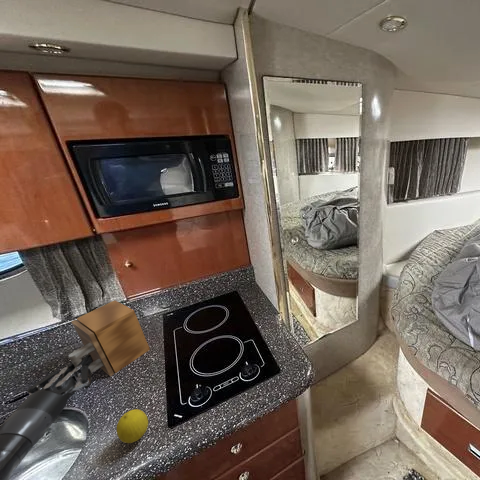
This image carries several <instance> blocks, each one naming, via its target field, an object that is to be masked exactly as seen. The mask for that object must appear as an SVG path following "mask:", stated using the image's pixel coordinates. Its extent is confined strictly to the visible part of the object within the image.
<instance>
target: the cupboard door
mask: <svg viewBox="0 0 480 480" xmlns="http://www.w3.org/2000/svg"><path fill="white" fill-rule="evenodd" d="M71 324H72V326H73V329H74V330H75V332H76V334H77V335H78V338H79V340H80V341H81V343H82V344H83V346H81V347H79V348H78V349H76V350H74V351H71V353H69V354H68V359H69V360H70V362H72V363H73V365H74V367H75V368H76V367H77V366H78V364H79V363H80V362H81V361H82V359H83V358H84V357H85V356H86V355H91V357H92V359H93V361H92V363H91V364H90V365H89V366H88V367H89V369H90V371H91V374H93V373H95V372H96V371H97V370H99V369H101V370H102V371H103V372H104V373H106V374H107V375H108V376H109V377H112V376H114V375H115V373H114V372H113V371H112V369H111V367H110V365H109V363H108V361H107V359H106V357H105V355H104V353H103V351H102V349H101V347H100V345H99V343H98V341H97V339H96V337H95V335H94V333H93V332H91V331H90V330H89V329H87V328H86V327H85V326H83V325H82V324H81V323H79V322H78V321H77V319H73V320H71ZM81 358H82V359H81ZM78 373H79V372H78ZM78 373H77V374H78Z"/></svg>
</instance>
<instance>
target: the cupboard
mask: <svg viewBox="0 0 480 480" xmlns="http://www.w3.org/2000/svg"><path fill="white" fill-rule="evenodd" d="M76 321H78V322H79V323H81V324H82V325H83V326H85V327H86V328H87V329H89V330H90V331H91V332H93V333H94V335H95V337H96V339H97V341H98V343H99V345H100V347H101V349H102V351H103V353H104V355H105V357H106V359H107V361H108V363H109V365H110V367H111V369H112V371H113V372H114V374H117V373H118V372H120V371H122V370H123V369H124V368H125V367H127V366H129V365H130V364H131V363H133V362H134V361H136V360H137V359H138V358H140V357H141V356H143V355H144V354H146V353H147V352H149V351H151V349H150V346H149V344H148V342H147V339H146V336H145V334H144V331H143V329H142V327H141V324H140V322H139V319H138V317H137V314H136V312H135V310H134V309H132V308H130V307H128V306H127V305H125V304H123V303H121V302H119V301H118V300H116V299H115V300H111V301H110V302H108V303H106V304H104V305H102V306H99V307H97V308H95V309H93V310H91V311H90V312H87V313H85V314H82V315H81V316H79V317H77V318H76Z"/></svg>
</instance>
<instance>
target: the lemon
mask: <svg viewBox="0 0 480 480" xmlns="http://www.w3.org/2000/svg"><path fill="white" fill-rule="evenodd" d="M148 428H149V419H148V416H147V413H145V412H144V411H143V410H142V409H138V408H137V409H136V408H135V409H130V410H128V411H126V412H125V413H124V414H122V416H121V417H120V418H119V419H118V421H117V424H116V435H117V437H118V439H119V440H120V441H121V442H123V443H125V444H132V443H135V442H137V441H138V440H140V439H141V438H142V437H144V435H145V434H146V432H147V430H148Z"/></svg>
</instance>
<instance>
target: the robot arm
mask: <svg viewBox="0 0 480 480" xmlns="http://www.w3.org/2000/svg"><path fill="white" fill-rule="evenodd" d="M81 359H82V361H81V362H80V363H79V364H78V366H77V367H76V368H75V367H74V365H73V363H72V361H70V362H69V363H68V365H66V366H65V367H63V368H62V369H61V370H58V369H56V370H54V371H52V372H51V373H49V374H48V375H46V376H45V377H43V378H41V380H38V382H36V383H34V384H33V385H31V386H29V388H27V389H26V392H27V393H28V395H29V396H27V397H26V398H25V400H23V402H21V404H20V405H19V406H18V407H17V408H16V409H15V410H14V411H13V412H12V413H11V414H10V415H9V416H8V417H7V419H6V420H5V421H4V422H3V423H2V424H1V425H0V480H10V478H11V476H12V474H13V473H14V471H15V470H16V469H17V468H18V466H19V465H20V464H21V463H22V461H24V459H25V458H26V457H27V455H28V454H29V453H30V451H31V450H32V448H33V447H34V446H35V445H36V444H37V443H39V441H40V440H41V439H42V437H43V436H45V434H46V432H47V431H49V429H50V427H51V426H52V425H53V423H54V422H55V421H56V419H57V418H58V417H59V416H60V414H61V413H62V412H63V411H64V409H65V408H66V406H67V403H68V400H69V398H71V397H72V396H74V394H76V392H77V391H78V390H80V389H82V388H84V389H89V388H90V387H91V386H92V373H91V371H90V369H89V367H88V366H89V365H90V364H91V363H93V359H92V357H91V355H89V354H87V355H85V356H83V357H81ZM78 372H79V373H78Z"/></svg>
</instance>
